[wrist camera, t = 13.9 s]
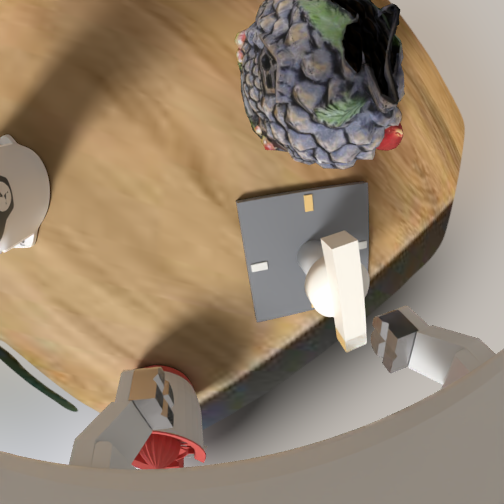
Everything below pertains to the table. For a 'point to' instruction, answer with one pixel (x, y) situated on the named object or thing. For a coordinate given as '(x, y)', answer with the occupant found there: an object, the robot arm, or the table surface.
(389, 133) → the onion
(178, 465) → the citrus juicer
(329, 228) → the lock base
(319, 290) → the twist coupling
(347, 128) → the pineapple fairy house
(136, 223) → the table surface
